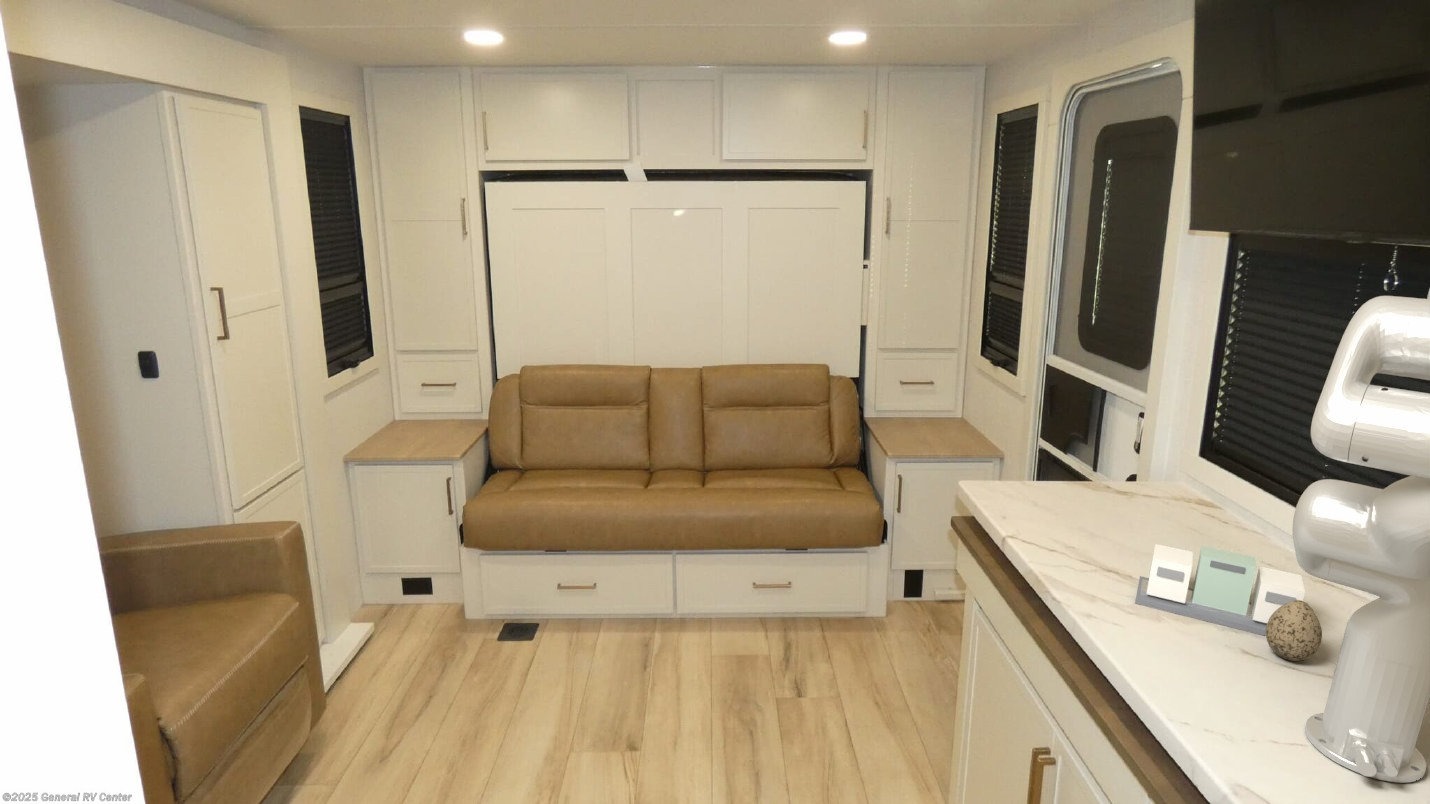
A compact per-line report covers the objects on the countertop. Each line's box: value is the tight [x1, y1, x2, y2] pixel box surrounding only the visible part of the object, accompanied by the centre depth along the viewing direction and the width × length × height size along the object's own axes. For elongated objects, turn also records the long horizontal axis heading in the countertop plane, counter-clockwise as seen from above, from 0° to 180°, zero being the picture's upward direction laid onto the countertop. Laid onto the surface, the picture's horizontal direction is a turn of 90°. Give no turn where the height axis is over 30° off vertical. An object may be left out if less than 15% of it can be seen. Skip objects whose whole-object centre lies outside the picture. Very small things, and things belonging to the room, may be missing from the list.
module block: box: [1192, 545, 1257, 615], centre depth 139 cm, size 5×8×9 cm, turn 60°
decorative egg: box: [1265, 600, 1323, 662], centre depth 126 cm, size 7×7×10 cm
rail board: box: [1134, 543, 1306, 637], centre depth 140 cm, size 10×25×9 cm, turn 59°
